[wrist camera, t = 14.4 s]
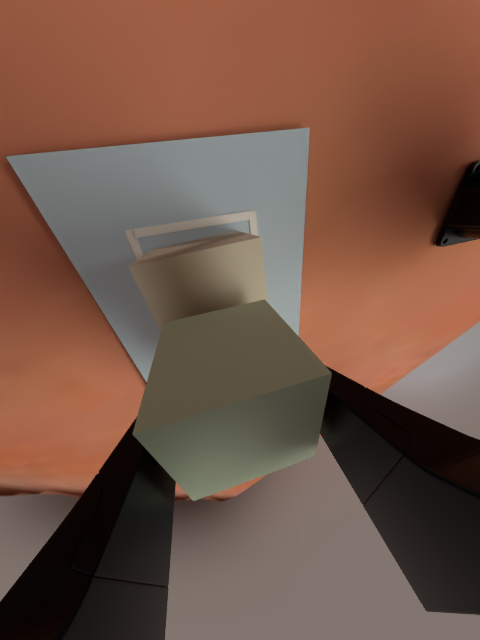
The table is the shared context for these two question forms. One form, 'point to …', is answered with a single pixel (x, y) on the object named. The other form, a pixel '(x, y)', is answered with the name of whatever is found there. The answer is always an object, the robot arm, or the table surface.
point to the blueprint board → (172, 214)
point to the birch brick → (201, 276)
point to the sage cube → (231, 398)
